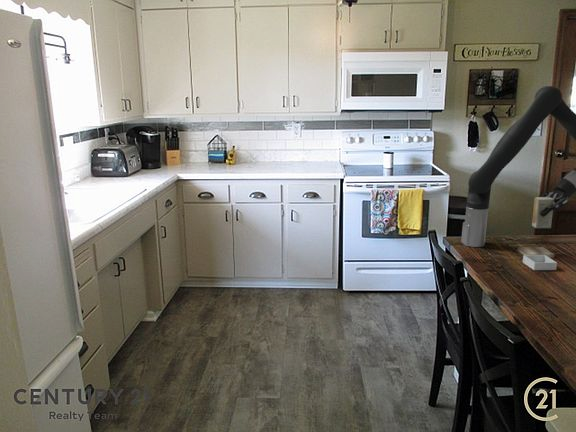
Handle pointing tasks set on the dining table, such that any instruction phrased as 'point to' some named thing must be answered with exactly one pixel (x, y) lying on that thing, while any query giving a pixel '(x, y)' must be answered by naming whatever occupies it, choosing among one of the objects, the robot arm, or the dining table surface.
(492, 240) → the dining table surface
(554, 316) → the dining table surface
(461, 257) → the dining table surface
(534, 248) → the birch board
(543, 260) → the gray square frame
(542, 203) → the skincare box
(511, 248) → the dining table surface
